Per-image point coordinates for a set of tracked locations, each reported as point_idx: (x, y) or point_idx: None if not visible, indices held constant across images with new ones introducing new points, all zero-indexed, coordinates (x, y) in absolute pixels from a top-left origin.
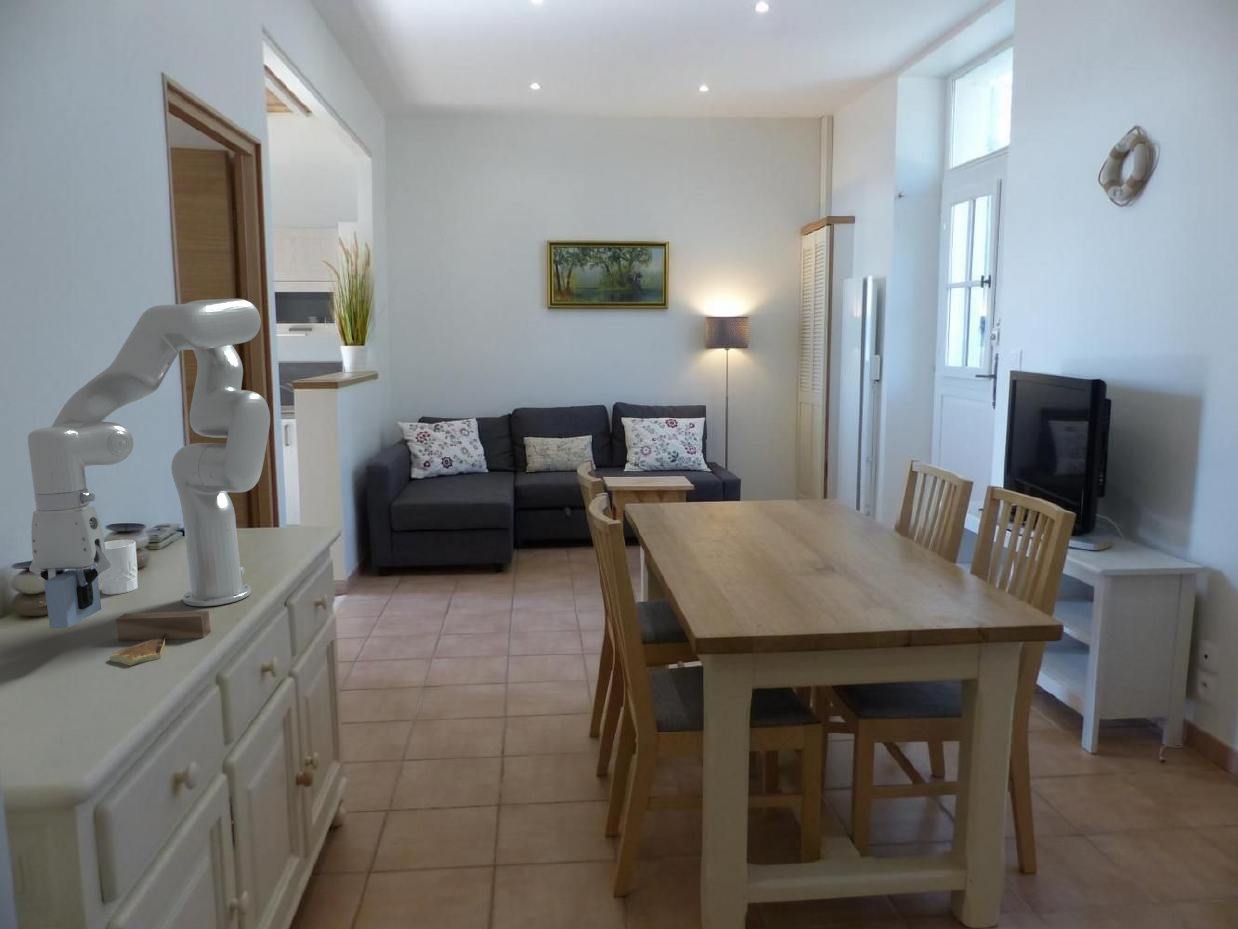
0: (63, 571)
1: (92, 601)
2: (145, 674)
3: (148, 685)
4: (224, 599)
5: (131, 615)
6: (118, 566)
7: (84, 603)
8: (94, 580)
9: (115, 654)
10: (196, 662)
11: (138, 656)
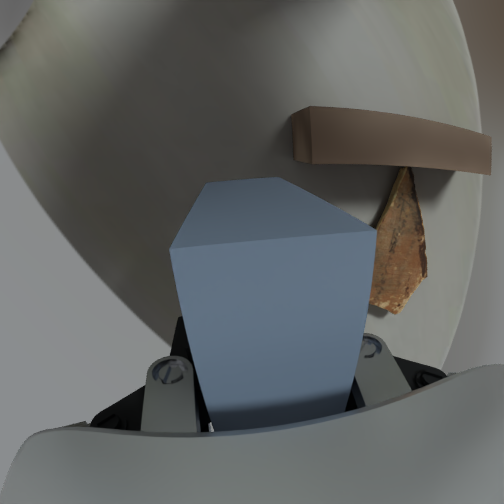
0: (199, 428)
1: None
2: (413, 331)
3: (421, 357)
4: None
5: (343, 129)
6: None
7: None
8: (376, 336)
9: None
10: (464, 284)
11: (403, 301)
